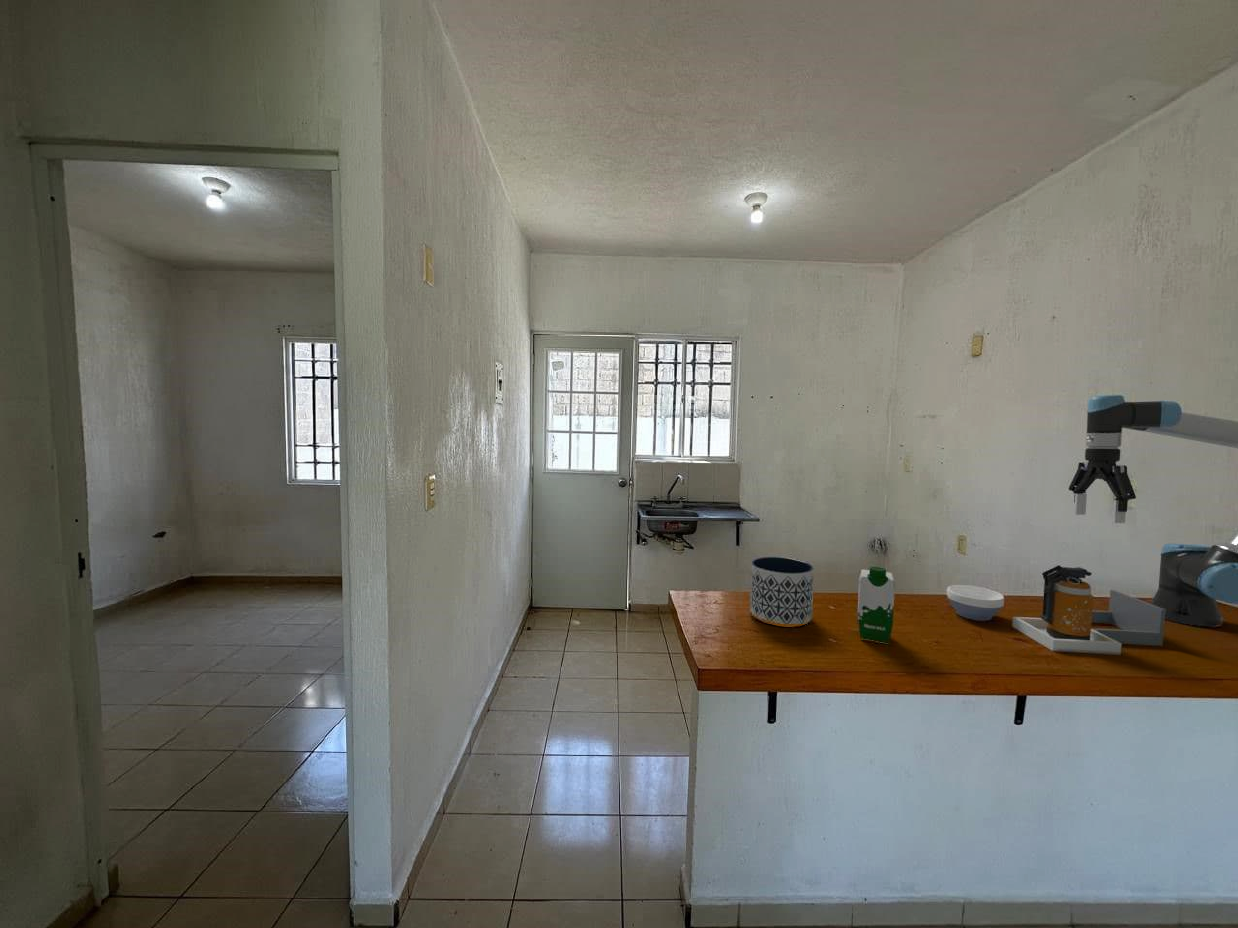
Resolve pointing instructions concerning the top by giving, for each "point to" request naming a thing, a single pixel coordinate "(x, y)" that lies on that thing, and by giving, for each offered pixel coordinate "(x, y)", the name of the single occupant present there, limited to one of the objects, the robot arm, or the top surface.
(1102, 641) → the tray
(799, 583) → the planter
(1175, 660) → the top surface
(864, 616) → the milk carton
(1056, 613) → the canister
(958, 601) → the bowl
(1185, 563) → the robot arm
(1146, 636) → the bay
